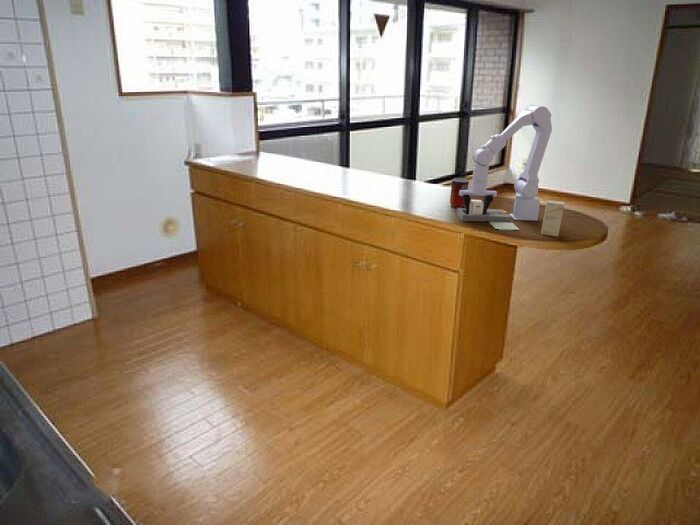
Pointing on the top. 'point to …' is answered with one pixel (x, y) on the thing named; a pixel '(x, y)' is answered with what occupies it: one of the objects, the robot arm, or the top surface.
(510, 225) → the mat
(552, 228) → the skincare box
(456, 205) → the soda can
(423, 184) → the top surface
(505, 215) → the grey tray
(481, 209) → the charger
